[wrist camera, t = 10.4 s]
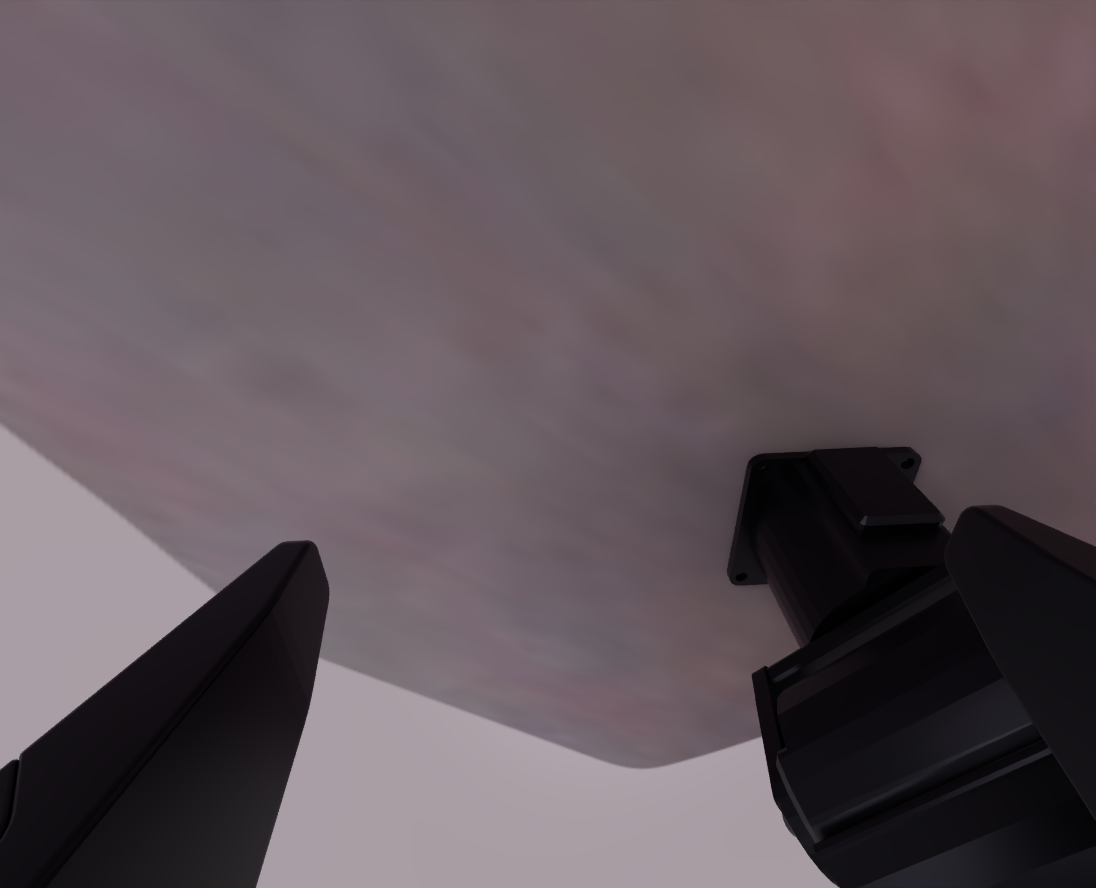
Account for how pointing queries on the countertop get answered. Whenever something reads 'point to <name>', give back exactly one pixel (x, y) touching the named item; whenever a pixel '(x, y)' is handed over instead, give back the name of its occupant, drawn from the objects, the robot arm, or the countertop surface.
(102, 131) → the countertop surface
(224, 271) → the countertop surface
